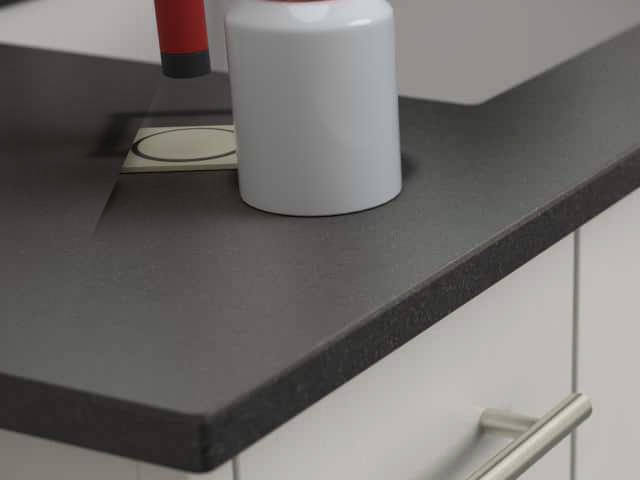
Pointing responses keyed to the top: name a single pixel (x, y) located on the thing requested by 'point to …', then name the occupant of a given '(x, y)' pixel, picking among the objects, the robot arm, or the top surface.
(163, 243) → the top surface
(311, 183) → the pill bottle
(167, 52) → the marker
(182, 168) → the coaster
